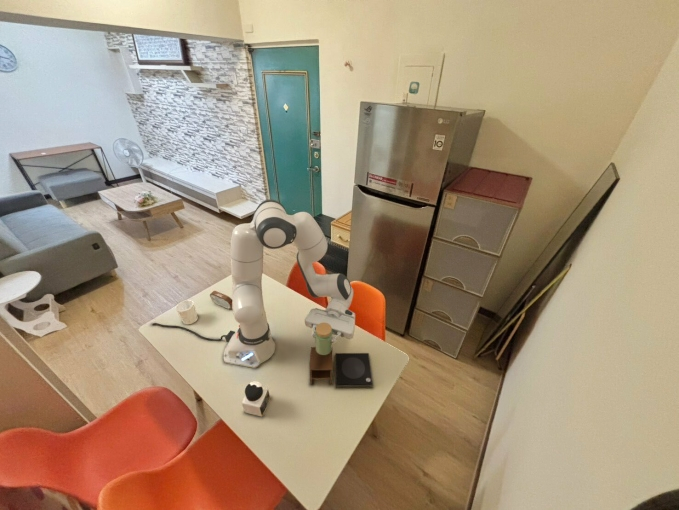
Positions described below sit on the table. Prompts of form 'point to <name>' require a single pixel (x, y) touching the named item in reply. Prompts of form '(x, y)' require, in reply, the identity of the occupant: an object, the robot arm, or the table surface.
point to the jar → (323, 338)
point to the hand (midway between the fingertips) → (323, 339)
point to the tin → (221, 299)
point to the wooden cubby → (321, 365)
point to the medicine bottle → (255, 399)
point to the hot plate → (353, 370)
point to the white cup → (187, 311)
